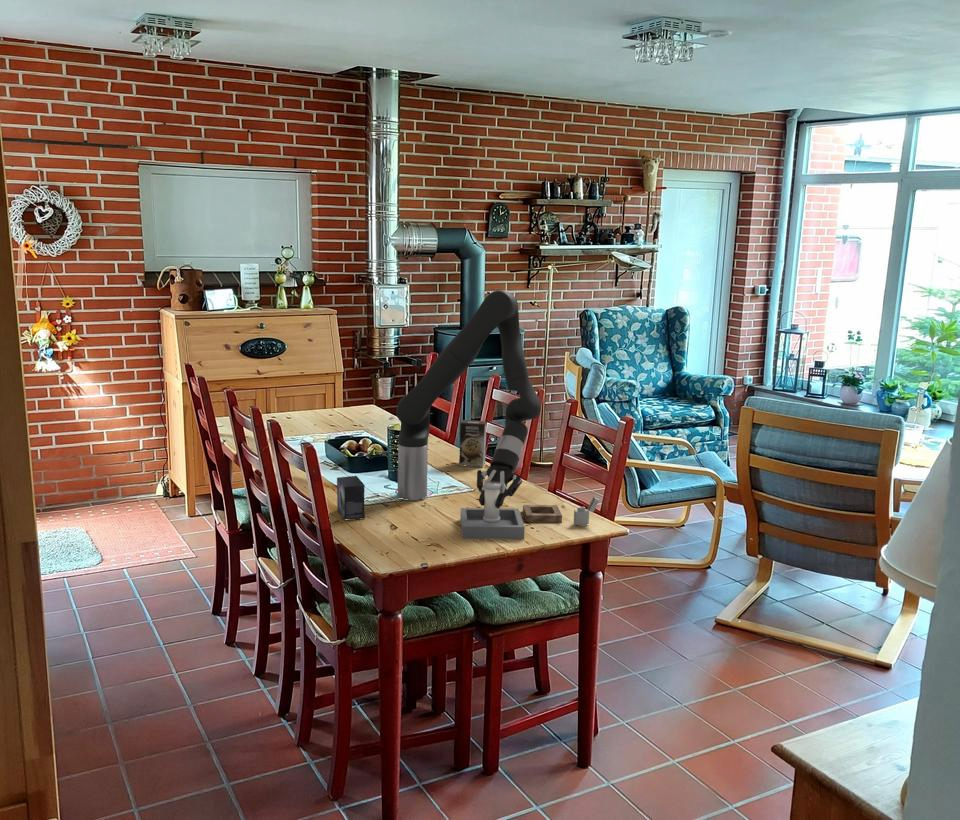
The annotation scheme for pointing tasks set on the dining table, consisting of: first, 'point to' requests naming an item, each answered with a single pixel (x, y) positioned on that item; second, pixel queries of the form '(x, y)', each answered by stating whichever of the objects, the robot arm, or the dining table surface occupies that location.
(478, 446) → the coffee box
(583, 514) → the lighter
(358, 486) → the small box
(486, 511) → the fuse
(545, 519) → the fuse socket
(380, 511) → the dining table surface
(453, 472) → the dining table surface
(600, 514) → the dining table surface
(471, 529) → the parts tray
